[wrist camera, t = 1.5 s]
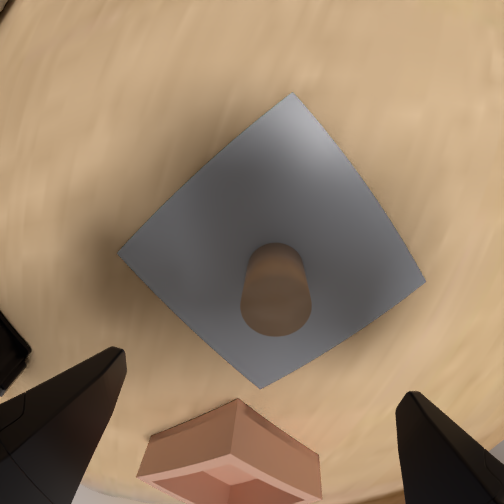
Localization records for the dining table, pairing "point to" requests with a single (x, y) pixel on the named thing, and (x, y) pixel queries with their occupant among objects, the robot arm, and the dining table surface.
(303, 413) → the dining table surface
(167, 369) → the dining table surface
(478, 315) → the dining table surface
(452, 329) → the dining table surface
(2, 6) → the canister
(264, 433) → the open box
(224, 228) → the lid
